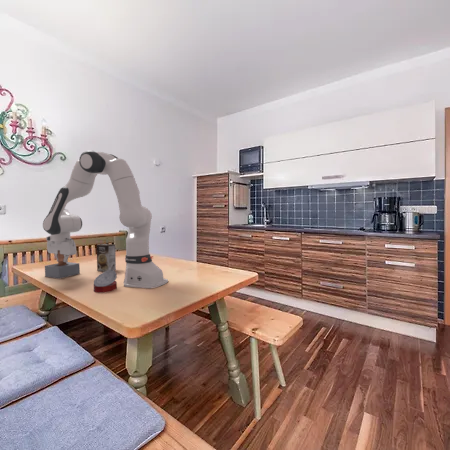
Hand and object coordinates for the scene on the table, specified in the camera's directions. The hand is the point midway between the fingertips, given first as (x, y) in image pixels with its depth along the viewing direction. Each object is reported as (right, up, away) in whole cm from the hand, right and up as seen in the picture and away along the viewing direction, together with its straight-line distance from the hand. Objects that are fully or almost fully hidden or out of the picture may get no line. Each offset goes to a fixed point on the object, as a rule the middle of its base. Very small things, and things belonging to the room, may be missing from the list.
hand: (62, 261), depth 144 cm
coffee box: (+20, -7, +11) cm, 24 cm away
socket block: (0, -8, 0) cm, 8 cm away
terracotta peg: (0, -5, 0) cm, 5 cm away
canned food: (+37, -9, -26) cm, 46 cm away
